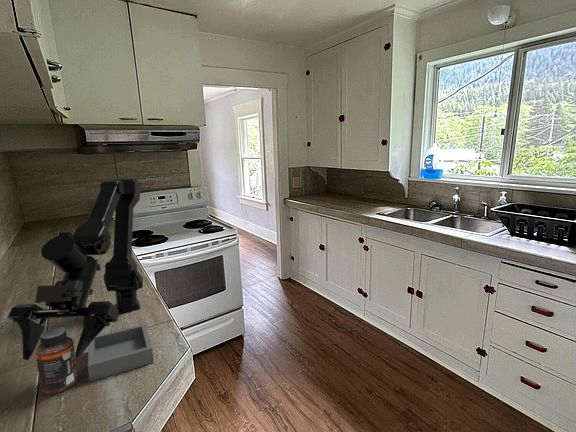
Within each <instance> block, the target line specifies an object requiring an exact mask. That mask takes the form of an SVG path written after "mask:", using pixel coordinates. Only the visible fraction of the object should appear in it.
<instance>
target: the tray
mask: <svg viewBox="0 0 576 432" xmlns="http://www.w3.org/2000/svg"><path fill="white" fill-rule="evenodd" d="M147 327H148V326H147V324H146V323H143V324H139V325H135V326H131V327H126V328H122V329H118V330H114V331H109V332H105V333H101V334H100V333H99V334H98V335H97V336H96V337H95V338H94V339H93V341H92V342H91V343H90V344H89V346H88V354H87V371H88V380H89V382H93V381H96V380H101V379H103V378H107V377H111V376H113V375H116V374H119V373H123V372H127V371H130V370H133V369H136V368H140V367H143V366H147V365H150V364H153V363H154V350H153V348H154V347H153V346H152V345H153V344H152V342H151V338H150V335H149V331H148V328H147Z"/></svg>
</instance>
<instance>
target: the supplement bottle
mask: <svg viewBox="0 0 576 432" xmlns="http://www.w3.org/2000/svg"><path fill="white" fill-rule="evenodd" d="M39 341H40V344H38V346H36V348H35V358H36V364H37V365H36V366H37V372H38V379H39V385H40V389H41V392H43V393H44V394H46V395H47V394H48V395H52V394H58V393H60V392H64V391H65V390H68V389H69V388H70V387H71V388H72V386H73V385H74V384H75V383H76V382H77V380H78V370H77V361H76V359H77V358H76V357H75V354H76V350H75V344H74V340H73V338H72V337H71V336H68V335H67V332H66V328H65V327H54V328H50V329H48V330H45V331H43V332H42V334H41V335H40V339H39Z"/></svg>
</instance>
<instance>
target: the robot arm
mask: <svg viewBox="0 0 576 432" xmlns="http://www.w3.org/2000/svg"><path fill="white" fill-rule="evenodd" d="M99 189H100V190H99V192H98V194H97V197H96V199H95V201H94V204H93V206H92V208H91V210H90V213H89V215H88V217H87V219H86V220H85V221H84V222H83V223H81V224H79V225H78V226H77V227H76V229H75V230H74V232H73V233H72V232H71V231H59V233H58V235H57V236H55V237H53V238H51V239H49V240H48V241H46V243H45V244H44V245H42V247H41V251H40V252H41V253H40V254H41V256H42V258H44V259H45V260H46V261H47V262H48V263H49V264H51V265H52V266H53V267H54V268H55V269H56V270H58V271H59V272H61V273H63V276H62V279H61V280H57V281H56V282H55V283H54V285H52V284H51V285H37V287H36V293H35V299H34V303H28V304H27V303H26V304H25V303H23V304H21V303H20V304H16V305H14V306H12V307H11V308H10V310H9V312H8V315H7V319H8V320H10V321H12V322H13V323H14V324H15V325H18V326H19V329H20V330H21V335H22V360H24V361H29V359H31V357H32V355H33V353H34V351H35V350H36V348H37V345H38V343H39V341H40V335H41V334H42V333H43V332H44V330H45V328H46V327H45V326H43V324H45V323H46V322H47V320H51V319H52V320H53V319H73V318H74V319H75V318H83V328H82V331H81V334H80V337H79V340H78V343H77V346H76V348H75V358H80V357H81V356H82V355H83V353H84V352H85V350H87V348H89V344H90V343H91V342H92V341H93V339H94V338H95V337H96V336H97V335H100V333H101V332H102V331H103V330H104V329H105V328H106V327H110V325H111V323H116V322H118V319H119V316H120V315H119V314H121V313H126V312H130V311H131V312H132V311H135V310H140V309H141V306H140V305H141V304H140V302H139V299H138V292H137V291H139V290H140V289H142V288H144V277H143V276H142V275H141V273H140V271H138V264H137V262H136V261H135V259H134V258H133V256H132V251H133V249H132V248H133V229H134V226H133V225H134V223H133V222H134V208H135V207H136V205H138V202H140V199H141V198H140V197H141V193H142V191H143V187H142V183H141V181H138V179H137V178H136V177H133V178H132V177H131V178H129V177H128V178H127V177H123V178H122V177H120V178H119V177H117V178H116V177H114V178H113V179H112V180H104V181H101V182H100V185H99ZM113 217H114V229H113V230H114V231H113V232H114V234H113V251H112V253H113V254H112V257H111V259H110V260H109V261H107V262H106V263H105V265H104V274H103V281H104V285H105V288H106V291H107V292H114V294H115V304H113V303H112V302H110V301H109V300H104V301H91V302H90V303H89V304H88V306H86V305H87V301H88V300H89V299H88V298H89V296H92V295H93V292H94V289H92V286H93V285H92V284H93V282H94V278H95V275H96V273H97V272H99V271H101V269H102V268H101V265H100V264H99V262H98V259H95V258H94V257H92V256H102V255H105V254H107V253H108V250H109V249H110V248H111V246H112V245H111V244H112V242H111V239H112V236H111V233H110V231H109V228H110V225H111V223H112V219H113ZM41 303H44V305H45V306H47V307H50V308H42V307H41V306H39V305H38V304H41Z"/></svg>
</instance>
